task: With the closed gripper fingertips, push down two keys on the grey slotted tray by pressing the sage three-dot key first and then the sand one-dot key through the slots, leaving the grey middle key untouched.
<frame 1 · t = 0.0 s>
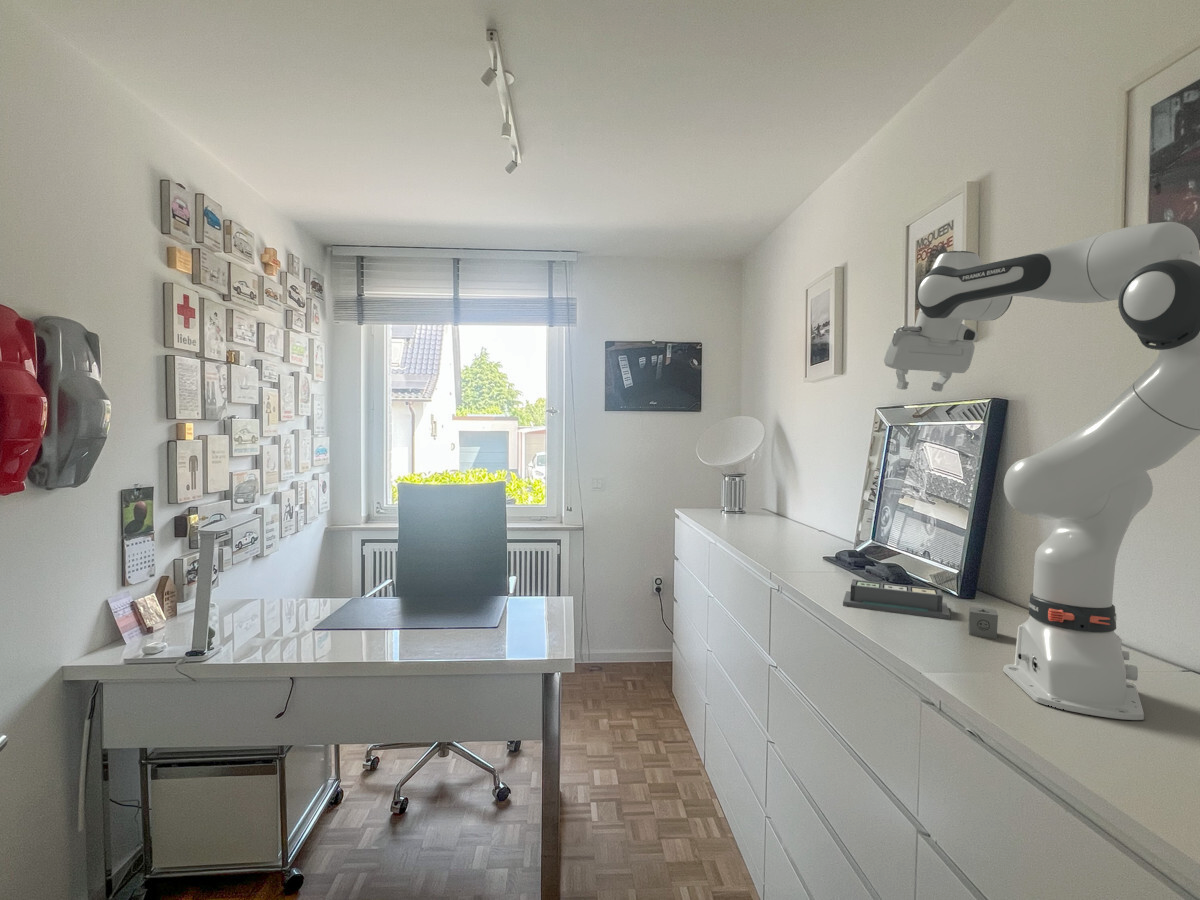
hand: (919, 389, 147), 52 cm above the table, tool tilted 20°, fingers open, 8 cm apart
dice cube: (982, 635, 139), on the table
sand key: (923, 594, 157), point 4 cm above the table, slide at 0.0 cm
grey slotted tray: (894, 606, 160), on the table
grey key: (895, 591, 160), point 4 cm above the table, slide at 0.0 cm
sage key: (867, 588, 162), point 4 cm above the table, slide at 0.0 cm
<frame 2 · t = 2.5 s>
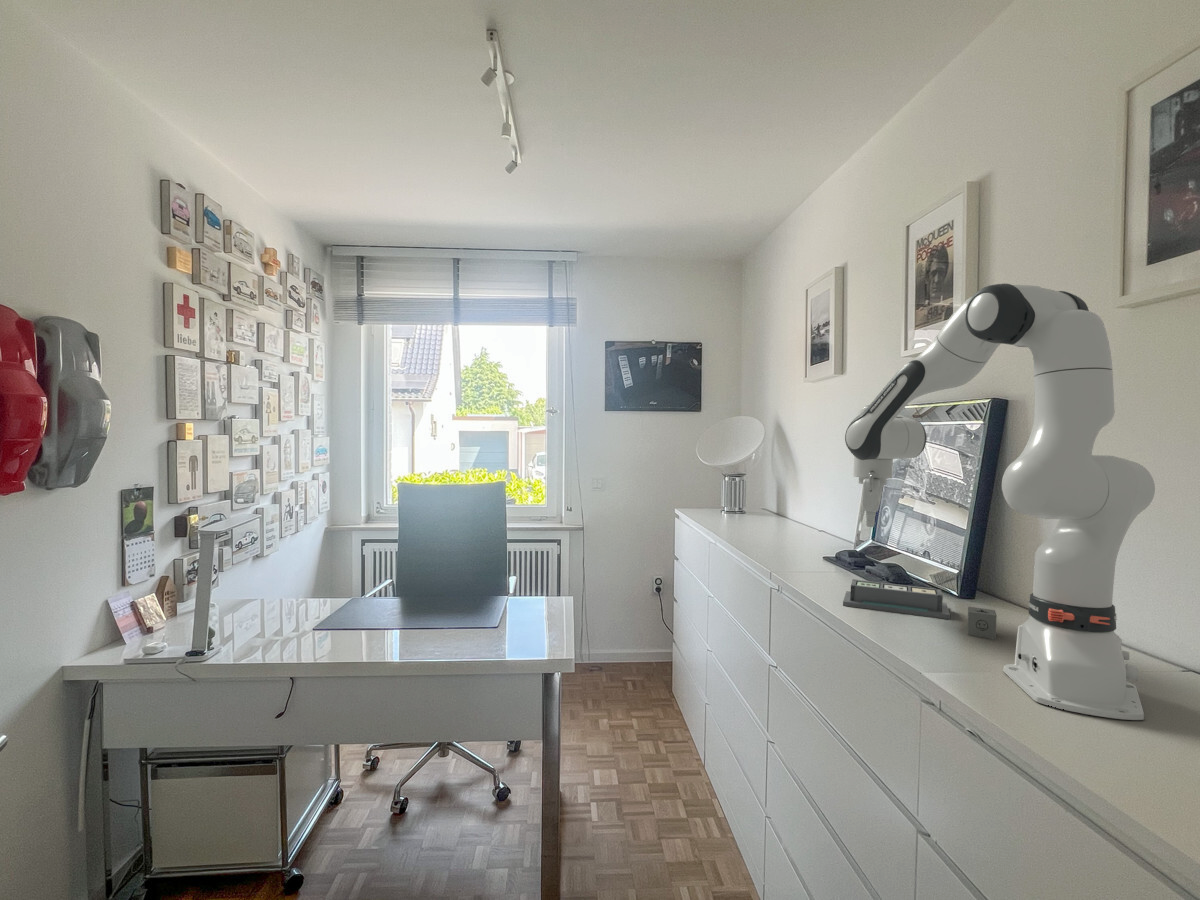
hand: (870, 526, 162), 19 cm above the table, tool pointing down, fingers closed
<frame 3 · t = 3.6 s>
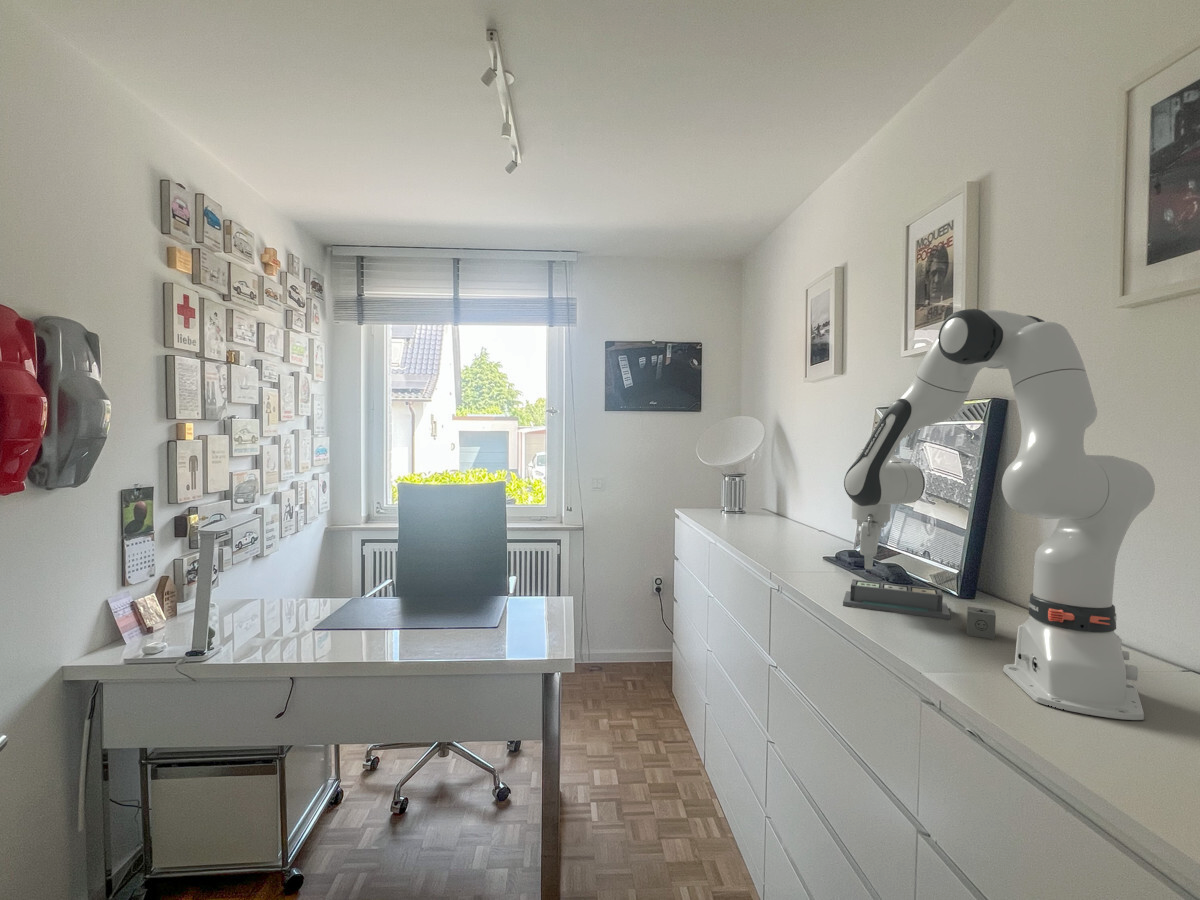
hand: (868, 568, 162), 9 cm above the table, tool pointing down, fingers closed
nothing on the table moved.
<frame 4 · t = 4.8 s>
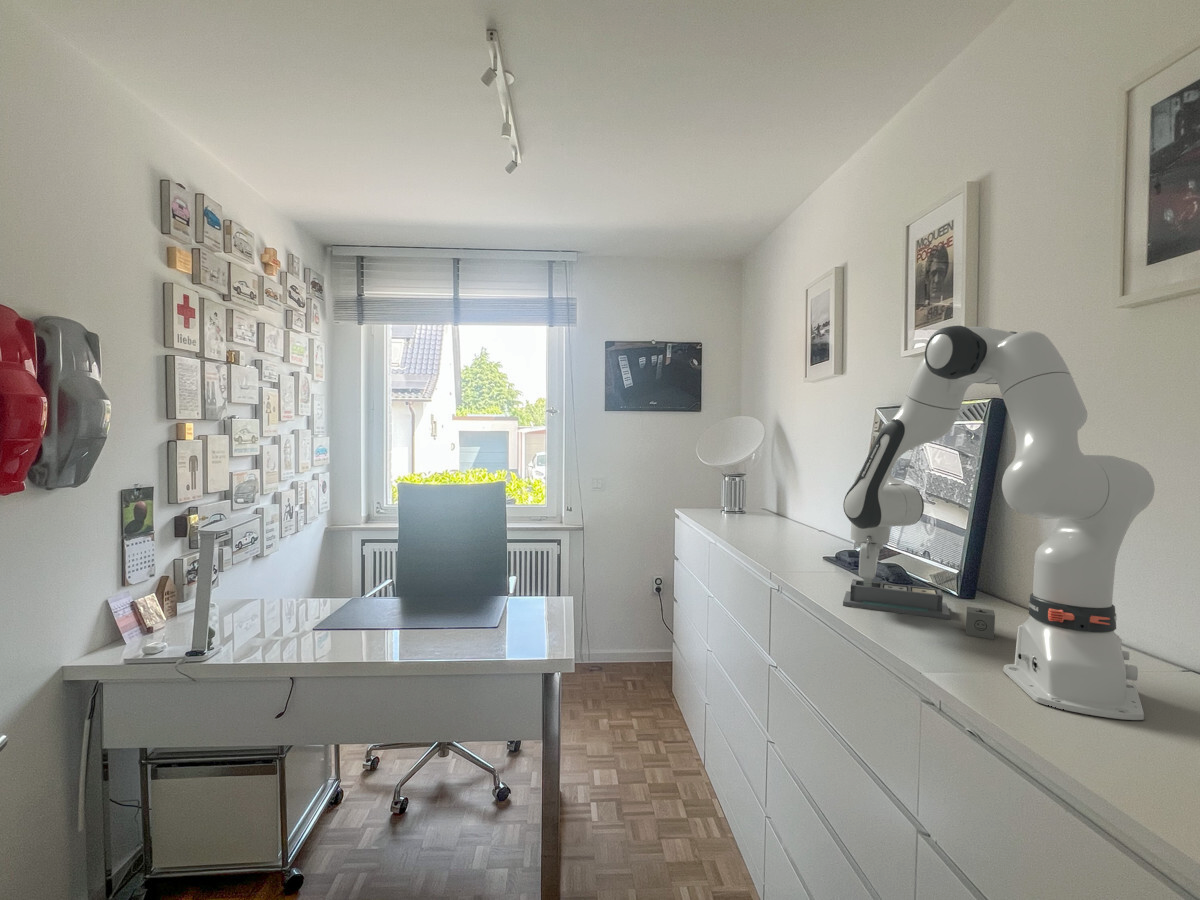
hand: (867, 589, 162), 3 cm above the table, tool pointing down, fingers closed, pressing on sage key
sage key: (867, 593, 162), point 2 cm above the table, slide at 1.3 cm, touching gripper
everything else where it was.
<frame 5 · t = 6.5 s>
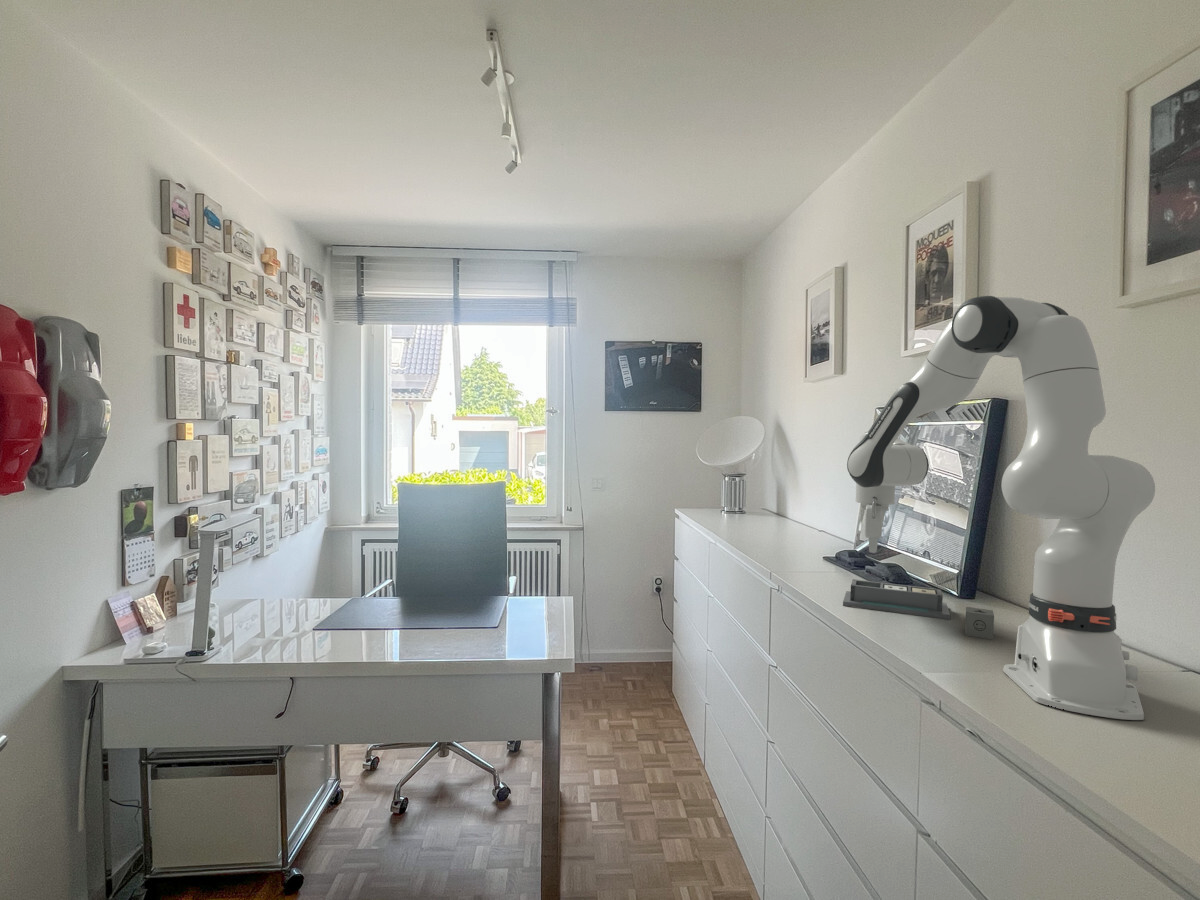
hand: (872, 551, 161), 13 cm above the table, tool pointing down, fingers closed
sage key: (867, 594, 162), point 2 cm above the table, slide at 1.6 cm
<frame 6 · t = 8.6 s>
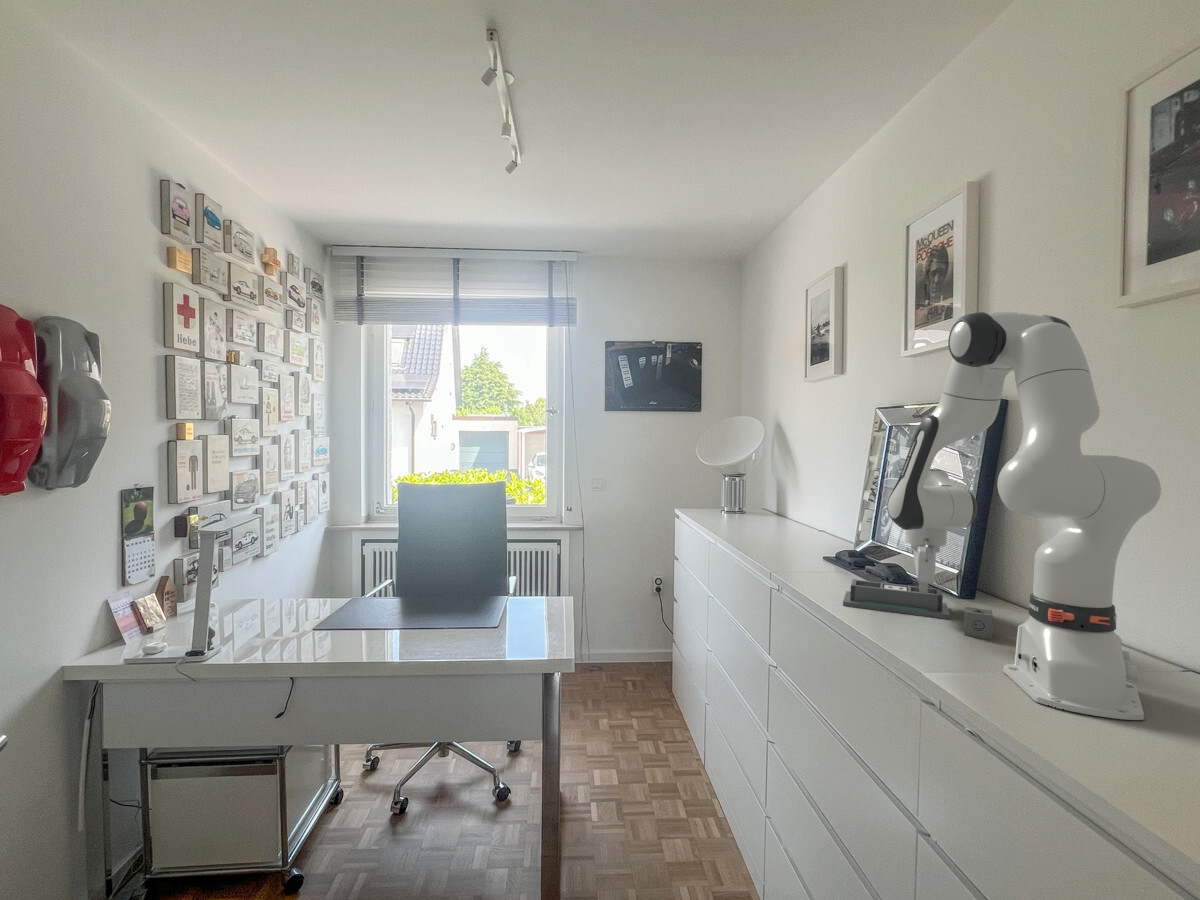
hand: (923, 593, 157), 4 cm above the table, tool pointing down, fingers closed, pressing on sand key
sand key: (923, 597, 157), point 3 cm above the table, slide at 0.8 cm, touching gripper
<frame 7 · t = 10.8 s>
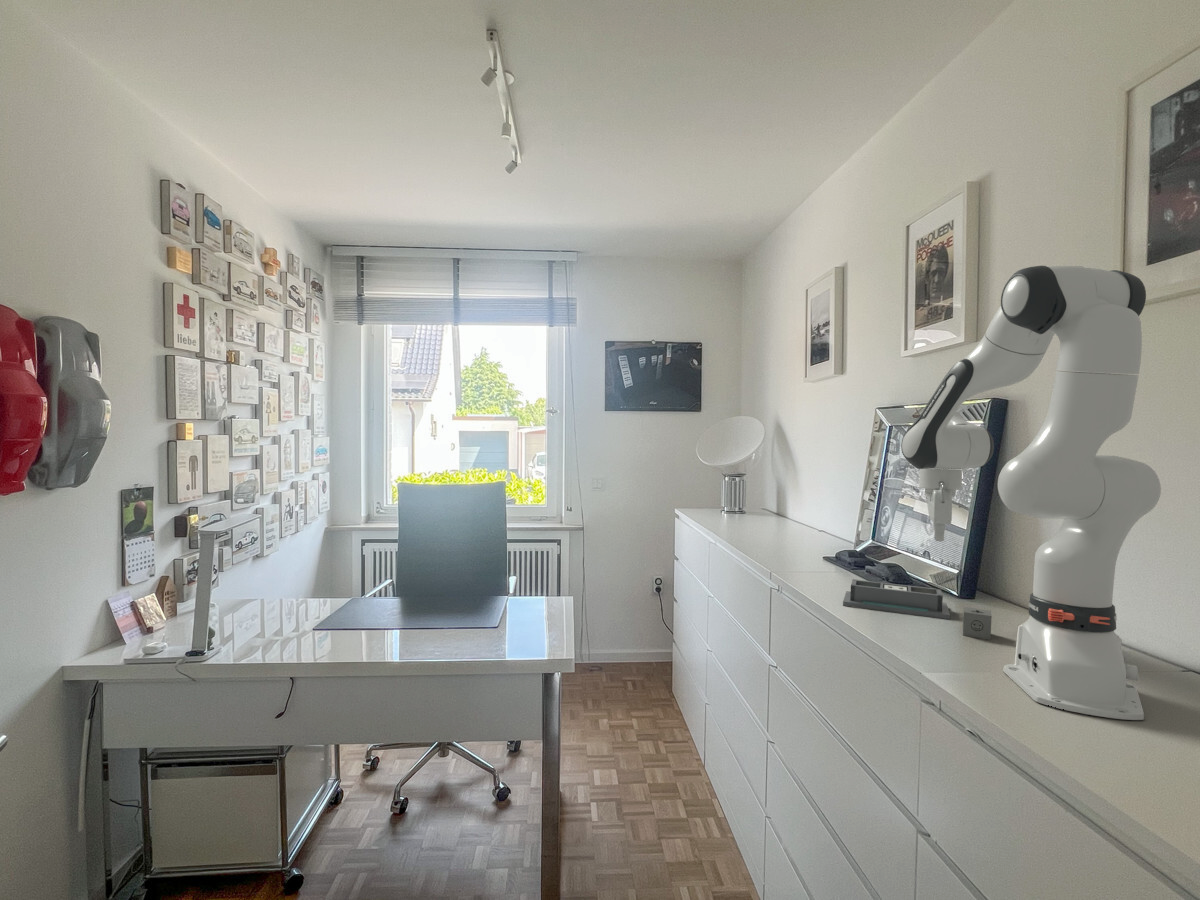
hand: (939, 540, 153), 17 cm above the table, tool pointing down, fingers closed
sand key: (923, 601, 157), point 2 cm above the table, slide at 1.6 cm
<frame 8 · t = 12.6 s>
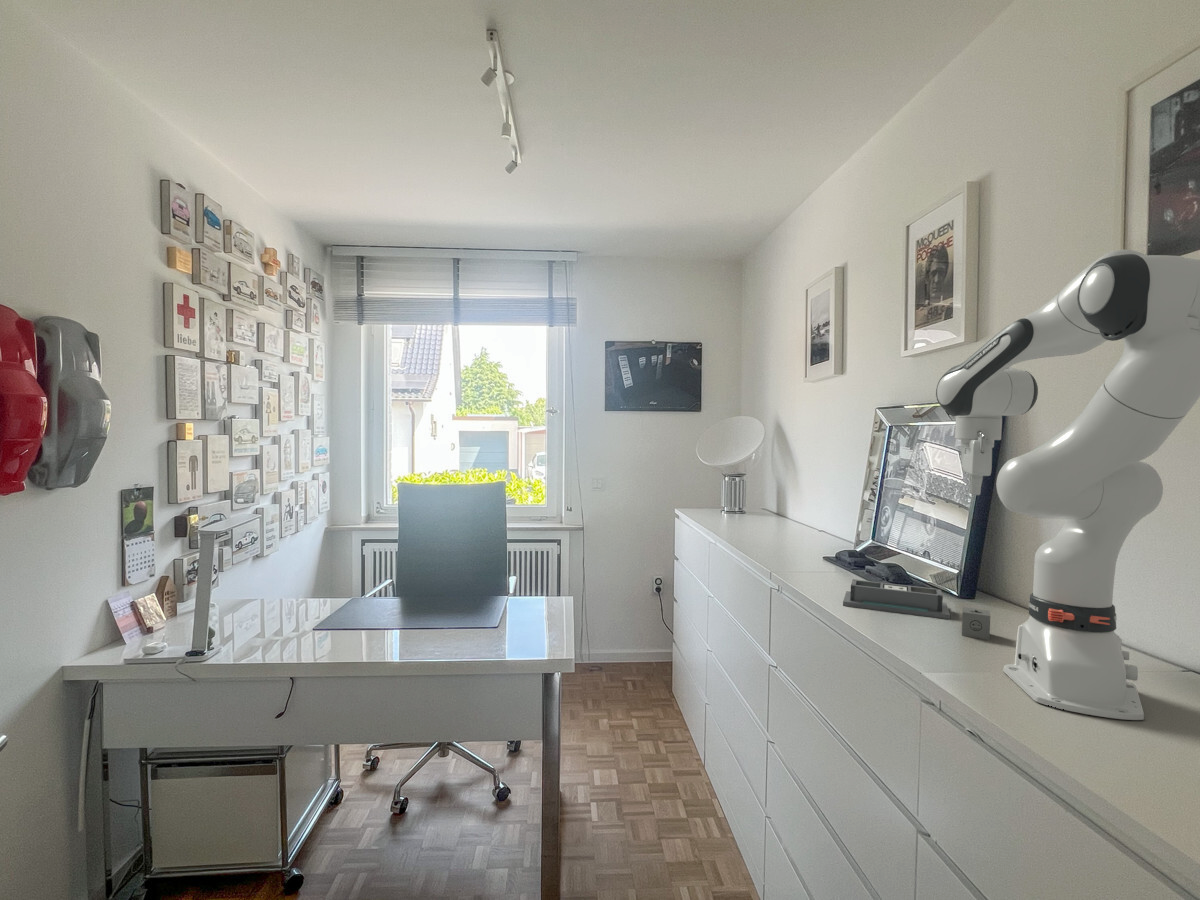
hand: (974, 494, 144), 29 cm above the table, tool pointing down, fingers closed
at the end: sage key slide at 1.6 cm; sand key slide at 1.6 cm; grey key slide at 0.0 cm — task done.
